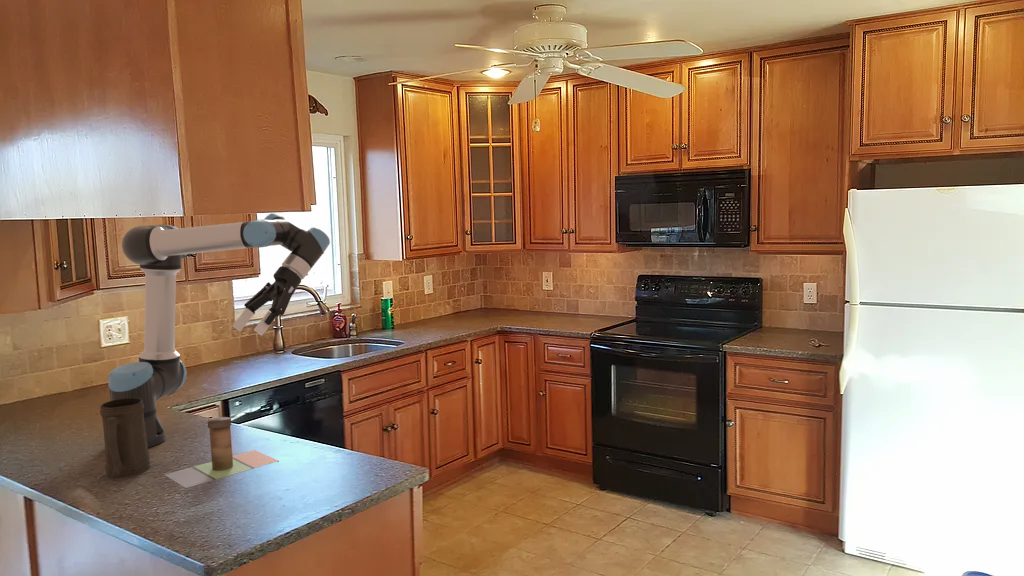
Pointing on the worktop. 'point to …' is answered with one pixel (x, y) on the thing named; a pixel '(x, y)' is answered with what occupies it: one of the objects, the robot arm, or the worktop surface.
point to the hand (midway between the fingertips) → (246, 330)
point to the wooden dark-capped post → (220, 443)
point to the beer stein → (125, 437)
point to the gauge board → (207, 474)
